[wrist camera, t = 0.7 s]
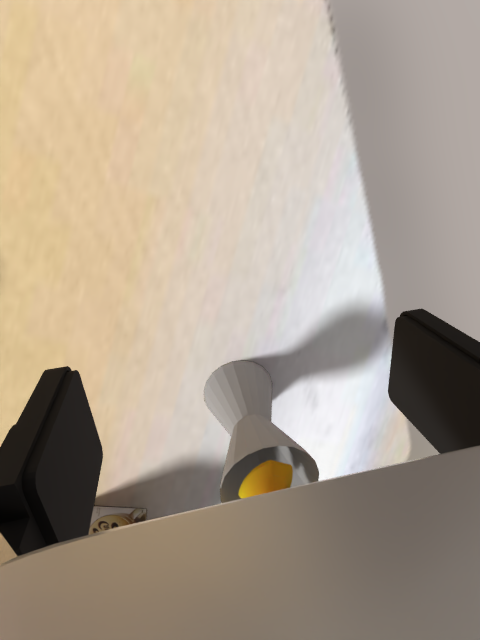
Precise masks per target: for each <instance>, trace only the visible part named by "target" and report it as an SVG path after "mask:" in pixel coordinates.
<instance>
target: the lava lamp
mask: <svg viewBox="0 0 480 640" xmlns="http://www.w3.org/2000/svg"><path fill="white" fill-rule="evenodd" d="M204 401H205V403H206V405H207V407H208V409H209V410H210V411H211V412H212V414H213V415H214V416H215V417H216V418H217V420H218V421H219V422H220V423H221V425H222V426H223V427H224V428H225V430H226V431H227V432H228V433H229V434H230V436H231V440H230V444H229V449H228V453H227V458H226V462H225V466H224V471H223V475H222V480H221V484H220V495H221V502H222V503H225V502H229V501H234V500H238V499H242V498H247V497H251V496H255V495H260V494H264V493H268V492H273V491H277V490H282V489H286V488H290V487H295V486H299V485H304V484H308V483H313V482H317V481H318V478H319V471H318V468H317V465H316V462H315V460H314V459H313V458H312V457H311V456H310V455H309V454H308V453H307V452H306V451H305V450H304V449H303V448H302V447H301V446H299V445H298V444H297V443H296V442H295V441H293V440H292V439H291V438H290V437H289V436H287V435H286V434H285V433H284V432H283V431H281V430H280V429H279V428H278V427H277V426H275V425H274V424H273V423H272V422H271V409H272V381H271V378H270V375H269V373H268V372H267V371H266V370H265V369H264V368H263V367H262V366H260V365H258V364H256V363H254V362H250V361H244V360H242V361H234V362H230V363H228V364H225V365H223V366H221V367H220V368H218V369H217V370H216V371H214V372H213V373H212V375H211V376H210V377H209V379H208V380H207V382H206V385H205V388H204Z"/></svg>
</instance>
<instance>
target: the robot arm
mask: <svg viewBox="0 0 480 640" xmlns="http://www.w3.org/2000/svg"><path fill="white" fill-rule="evenodd" d="M388 394H389V397H390V399H391V401H392V402H393V404H394V405H395V406H396V407H397V408H398V409H399V410H400V411H401V412H402V413H403V414H404V415H405V416H406V417H407V419H408V420H409V421H410V422H411V423H412V424H413V425H414V426H415V427H416V428H417V429H418V430H419V431H420V432H421V433H422V435H423V436H424V437H425V438H426V439H427V440H428V441H429V442H430V443H431V444H432V445H433V446H434V448H435V449H436V450H437V451H438V452H439V453H440V454H438V455H434V456H429V457H425V458H421V459H416V460H411V461H406V462H402V463H397V464H393V465H388V466H384V467H379V468H375V469H371V470H366V471H362V472H357V473H353V474H348V475H344V476H339V477H335V478H330V479H326V480H321V481H317V482H313V483H308V484H304V485H299V486H295V487H290V488H286V489H282V490H277V491H273V492H268V493H264V494H260V495H255V496H251V497H247V498H242V499H238V500H234V501H229V502H225V503H221V504H216V505H212V506H208V507H203V508H199V509H195V510H190V511H186V512H182V513H177V514H173V515H169V516H164V517H160V518H156V519H151V520H147V521H143V522H138V523H134V524H130V525H125V526H121V527H117V528H113V529H109V530H105V531H101V532H98V533H94V534H90V535H88V534H89V529H90V523H91V518H92V513H93V507H94V502H95V497H96V491H97V486H98V481H99V475H100V470H101V465H102V459H103V452H102V446H101V442H100V439H99V436H98V433H97V429H96V426H95V423H94V420H93V416H92V413H91V410H90V407H89V403H88V400H87V397H86V394H85V390H84V387H83V384H82V381H81V377H80V374H79V372H78V371H77V370H75V371H71V369H70V367H68V366H67V367H61V368H55V369H48V370H45V371H44V372H43V374H42V376H41V378H40V380H39V382H38V384H37V386H36V388H35V389H34V391H33V393H32V395H31V397H30V399H29V401H28V403H27V404H26V406H25V408H24V410H23V412H22V414H21V416H20V418H19V420H18V421H17V423H16V424H15V425H13V426H12V428H11V429H10V430H9V432H8V434H7V436H6V438H5V440H4V441H3V443H2V445H1V447H0V640H480V342H478V341H477V340H475V339H473V338H471V337H469V336H468V335H466V334H465V333H463V332H461V331H460V330H458V329H456V328H455V327H453V326H451V325H449V324H448V323H446V322H444V321H443V320H441V319H439V318H437V317H436V316H434V315H432V314H431V313H429V312H427V311H426V310H424V309H417V310H411V311H405V312H403V313H401V315H400V317H398V318H397V319H396V322H395V329H394V339H393V348H392V358H391V367H390V377H389V387H388Z"/></svg>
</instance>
